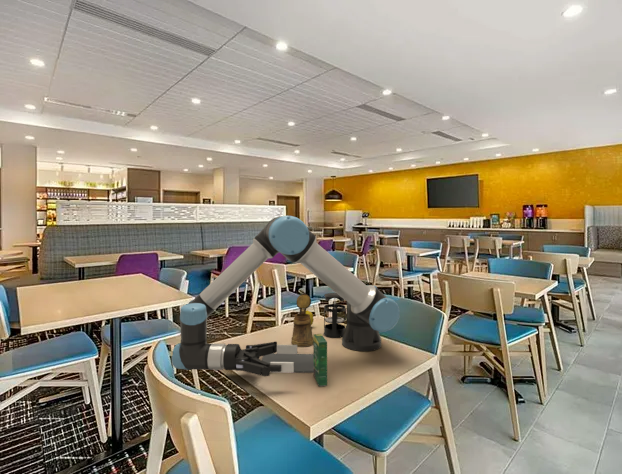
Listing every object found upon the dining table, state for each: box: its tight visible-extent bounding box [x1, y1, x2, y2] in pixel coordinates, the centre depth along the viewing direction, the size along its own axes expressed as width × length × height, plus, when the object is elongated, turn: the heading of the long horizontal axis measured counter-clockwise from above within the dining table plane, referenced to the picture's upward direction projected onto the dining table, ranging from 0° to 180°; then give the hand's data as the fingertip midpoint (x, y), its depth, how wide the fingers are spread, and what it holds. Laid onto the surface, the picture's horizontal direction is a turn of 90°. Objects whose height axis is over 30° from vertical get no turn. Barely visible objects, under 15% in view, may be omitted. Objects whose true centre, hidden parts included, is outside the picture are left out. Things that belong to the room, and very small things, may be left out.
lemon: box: [306, 309, 314, 326], centre depth 155 cm, size 6×6×8 cm
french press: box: [323, 291, 346, 339], centre depth 147 cm, size 12×9×23 cm
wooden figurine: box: [291, 292, 313, 348], centre depth 138 cm, size 9×14×18 cm, turn 176°
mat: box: [261, 352, 314, 374], centre depth 117 cm, size 18×14×1 cm
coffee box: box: [312, 333, 328, 387], centre depth 104 cm, size 8×3×13 cm, turn 10°
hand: (295, 357), depth 104 cm, fingers open, 13 cm apart
